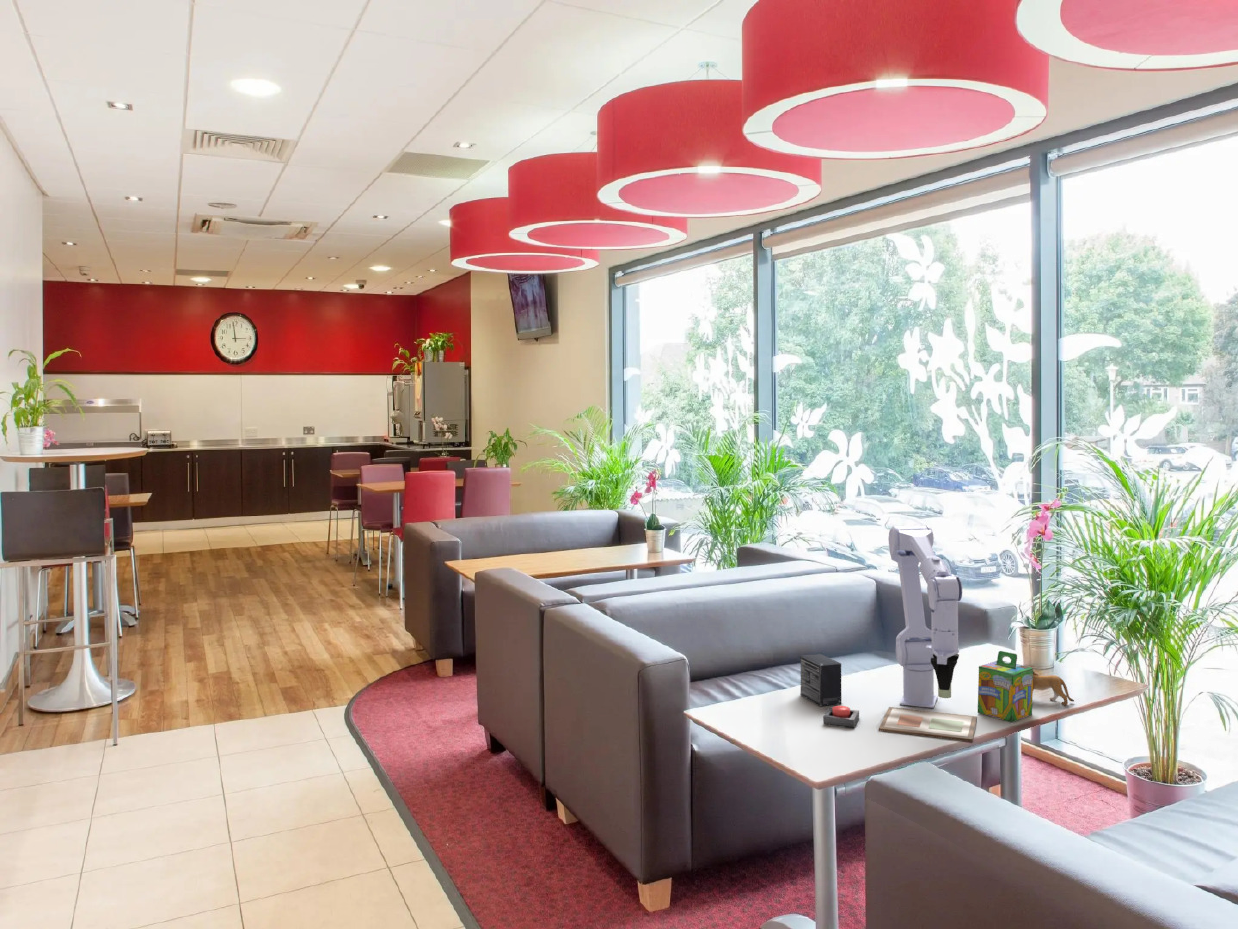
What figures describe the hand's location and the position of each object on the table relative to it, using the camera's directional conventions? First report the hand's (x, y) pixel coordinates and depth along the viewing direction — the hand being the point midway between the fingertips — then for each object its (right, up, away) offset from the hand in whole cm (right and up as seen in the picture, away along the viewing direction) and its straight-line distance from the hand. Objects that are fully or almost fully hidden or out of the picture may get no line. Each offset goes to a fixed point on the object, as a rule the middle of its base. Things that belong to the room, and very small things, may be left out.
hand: (945, 687), depth 208 cm
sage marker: (0, -2, 0) cm, 2 cm away
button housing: (-22, -10, +6) cm, 25 cm away
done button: (-22, -8, +6) cm, 25 cm away
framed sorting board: (-3, -9, +3) cm, 10 cm away
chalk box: (+18, -9, +9) cm, 22 cm away
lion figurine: (+30, -8, +18) cm, 35 cm away
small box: (-23, -9, +23) cm, 34 cm away
